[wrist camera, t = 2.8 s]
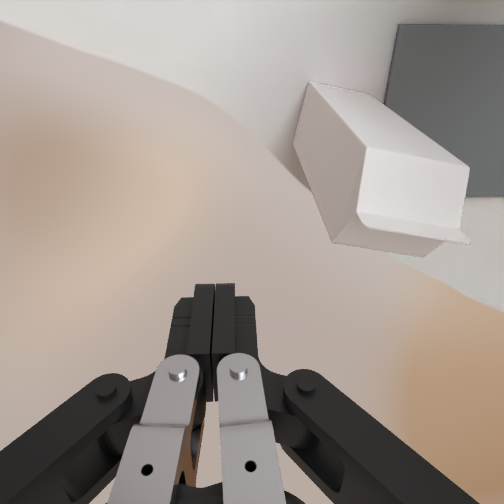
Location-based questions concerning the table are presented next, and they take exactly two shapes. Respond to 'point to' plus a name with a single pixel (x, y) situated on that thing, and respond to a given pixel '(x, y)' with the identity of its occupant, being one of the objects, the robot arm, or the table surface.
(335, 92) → the milk
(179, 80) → the table surface
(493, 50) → the mat
